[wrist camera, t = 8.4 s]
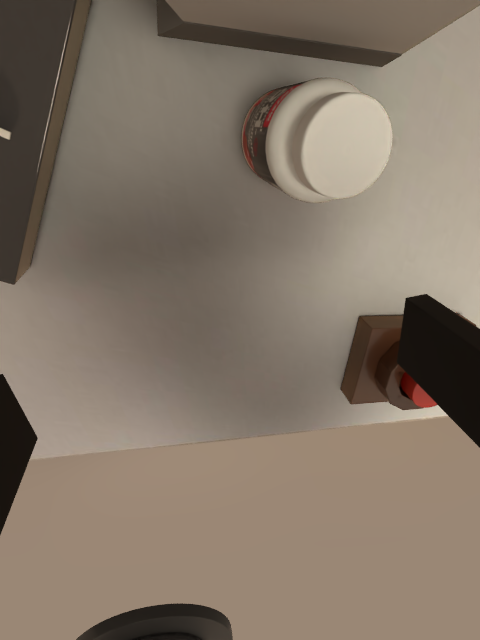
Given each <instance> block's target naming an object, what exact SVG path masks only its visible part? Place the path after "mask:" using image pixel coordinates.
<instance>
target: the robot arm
mask: <svg viewBox="0 0 480 640" xmlns="http://www.w3.org/2000/svg"><path fill="white" fill-rule="evenodd" d="M397 363H398V364H399V366H400V367H401V368H402V369H403V370H404V371H405V372H406V373H407V374H408V375H409V376H410V377H411V378H412V379H413V380H414V381H415V382H416V383H417V384H418V385H419V386H420V387H421V388H422V389H423V390H424V391H425V392H426V393H427V394H428V395H429V396H430V397H431V398H432V399H433V400H434V401H435V402H436V403H437V404H438V405H439V406H440V407H441V409H442V410H443V411H444V412H445V413H446V414H447V415H448V416H449V417H450V418H451V419H452V420H453V421H454V422H455V423H456V424H457V425H458V426H459V427H460V428H461V429H462V430H463V431H464V432H465V433H466V434H467V435H468V436H469V437H470V438H471V439H472V440H473V441H474V442H475V443H476V444H477V445H478V446H479V447H480V329H479V328H478V327H476V326H474V325H473V324H471V323H470V322H468V321H467V320H465V319H464V318H462V317H461V316H459V315H458V314H456V313H455V312H453V311H451V310H450V309H448V308H447V307H445V306H444V305H442V304H441V303H439V302H438V301H436V300H435V299H433V298H432V297H430V296H428V295H427V294H424V295H419V296H414V297H409V298H406V301H405V308H404V315H403V321H402V328H401V335H400V342H399V349H398V356H397ZM36 441H37V436H36V434H35V432H34V430H33V428H32V427H31V425H30V423H29V421H28V419H27V417H26V416H25V414H24V412H23V410H22V408H21V406H20V405H19V403H18V401H17V399H16V397H15V395H14V394H13V392H12V390H11V388H10V386H9V384H8V383H7V381H6V379H5V377H4V375H3V374H0V534H1V531H2V529H3V527H4V524H5V521H6V518H7V516H8V513H9V511H10V508H11V506H12V503H13V501H14V498H15V495H16V493H17V490H18V488H19V485H20V483H21V480H22V477H23V475H24V472H25V470H26V467H27V464H28V462H29V459H30V457H31V454H32V451H33V449H34V446H35V444H36ZM131 640H203V639H201V638H200V637H198V636H196V635H193V634H189V633H184V632H162V633H154V634H149V635H145V636H141V637H137V638H134V639H131Z"/></svg>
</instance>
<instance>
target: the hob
mask: <svg viewBox="0 0 480 640" xmlns="http://www.w3.org/2000/svg"><path fill="white" fill-rule="evenodd" d="M91 1H92V0H0V281H3V282H6V283H9V284H15V283H16V282H17V281H18V280H19V279H20V278H21V276H22V275H23V274H24V273H25V272H26V271H27V270H28V269H29V267H30V264H31V260H32V256H33V251H34V247H35V243H36V238H37V234H38V230H39V225H40V221H41V217H42V212H43V208H44V204H45V200H46V195H47V191H48V187H49V182H50V178H51V174H52V169H53V165H54V161H55V156H56V152H57V148H58V143H59V139H60V135H61V130H62V126H63V122H64V117H65V113H66V109H67V105H68V100H69V96H70V92H71V87H72V83H73V79H74V74H75V70H76V66H77V61H78V57H79V53H80V48H81V44H82V40H83V35H84V31H85V27H86V22H87V18H88V14H89V10H90V5H91Z"/></svg>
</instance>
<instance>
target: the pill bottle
mask: <svg viewBox="0 0 480 640" xmlns="http://www.w3.org/2000/svg"><path fill="white" fill-rule="evenodd" d="M241 141H242V149H243V153H244V157H245V159H246V161H247V163H248V165H249V166H250V168H251V169H252V170H253V171H254V172H255V173H256V174H257V175H258V176H259V177H261V178H262V179H263V180H265V181H267V182H268V183H270V184H272V185H273V186H275V187H277V188H278V189H280V190H281V191H283V192H285V193H286V194H288V195H289V196H291V197H292V198H295V199H298V200H300V201H304V202H309V203H321V202H327V201H330V200H333V199H345V198H350V197H353V196H355V195H358V194H360V193H361V192H363V191H365V190H366V189H368V188H369V187H370V186H371V185H372V184H373V183H374V182H375V181H376V180H377V179H378V177H379V176H380V175H381V173H382V172H383V170H384V168H385V166H386V164H387V162H388V159H389V156H390V153H391V148H392V127H391V122H390V119H389V116H388V114H387V112H386V110H385V109H384V107H383V106H382V105H381V104H380V103H379V102H378V101H377V100H375V99H374V98H372V97H371V96H369V95H366V94H363V93H361V92H360V91H359V90H358V89H357V88H356V87H354V86H353V85H351V84H349V83H348V82H345V81H343V80H340V79H335V78H317V79H313V80H309V81H306V82H301V83H298V84H294V85H290V86H285V87H281V88H278V89H275V90H272V91H270V92H268V93H266V94H264V95H263V96H262V97H260V98H259V99H258V100H257V101H256V102H255V103H254V104H253V106H252V107H251V108H250V110H249V112H248V114H247V116H246V118H245V121H244V124H243V128H242V136H241Z"/></svg>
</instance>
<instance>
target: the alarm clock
mask: <svg viewBox="0 0 480 640" xmlns="http://www.w3.org/2000/svg"><path fill="white" fill-rule="evenodd" d="M479 5H480V0H157V24H158V36H164V37H171V38H178V39H186V40H193V41H200V42H207V43H214V44H221V45H229V46H236V47H243V48H250V49H257V50H264V51H271V52H279V53H286V54H293V55H300V56H307V57H314V58H322V59H329V60H336V61H343V62H350V63H357V64H365V65H372V66H379V67H383V66H384V65H386V64H388V63H389V62H391V61H393V60H394V59H396V58H398V57H399V56H401V55H402V54H403V53H405V52H407V51H408V50H410V49H411V48H413V47H415V46H416V45H418V44H419V43H421V42H422V41H424V40H426V39H427V38H429V37H430V36H432V35H434V34H435V33H437V32H438V31H440V30H441V29H443V28H445V27H446V26H448V25H449V24H451V23H453V22H454V21H456V20H457V19H459V18H460V17H462V16H464V15H465V14H467V13H468V12H470V11H472V10H473V9H475V8H476V7H478V6H479Z"/></svg>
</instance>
